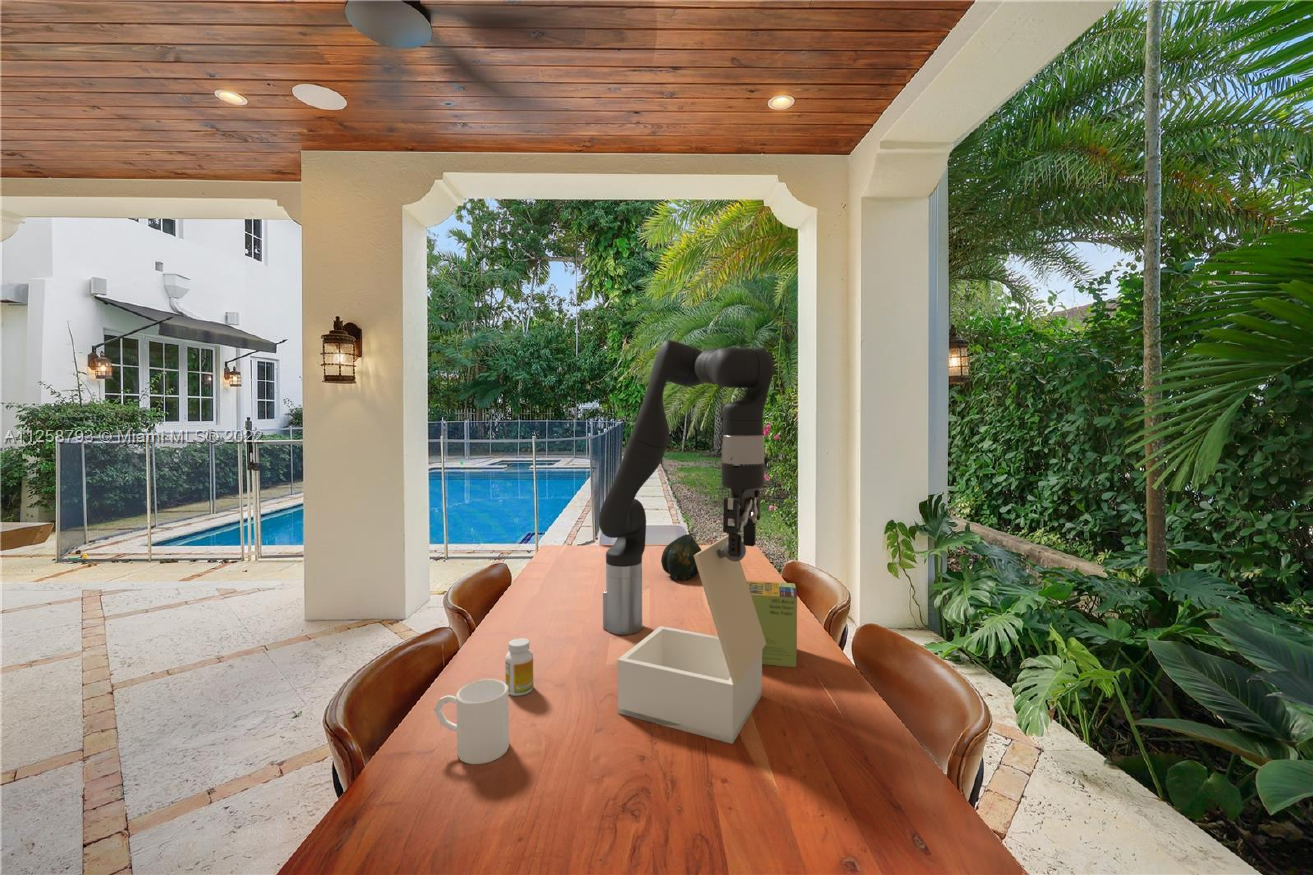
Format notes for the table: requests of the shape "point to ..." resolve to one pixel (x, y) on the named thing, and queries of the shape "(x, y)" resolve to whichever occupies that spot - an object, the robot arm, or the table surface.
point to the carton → (686, 684)
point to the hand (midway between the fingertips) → (742, 550)
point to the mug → (479, 720)
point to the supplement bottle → (519, 667)
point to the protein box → (777, 621)
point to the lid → (731, 607)
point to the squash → (681, 557)
